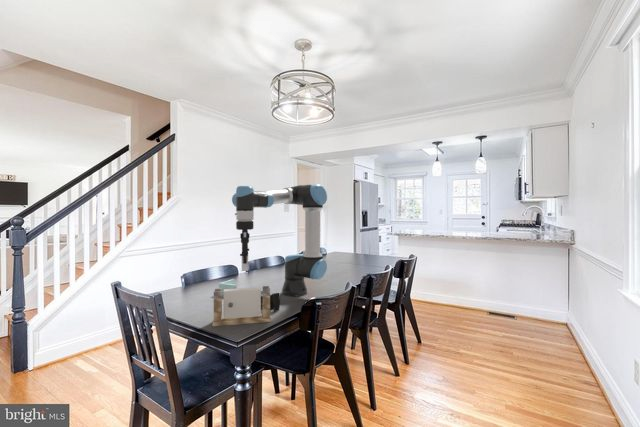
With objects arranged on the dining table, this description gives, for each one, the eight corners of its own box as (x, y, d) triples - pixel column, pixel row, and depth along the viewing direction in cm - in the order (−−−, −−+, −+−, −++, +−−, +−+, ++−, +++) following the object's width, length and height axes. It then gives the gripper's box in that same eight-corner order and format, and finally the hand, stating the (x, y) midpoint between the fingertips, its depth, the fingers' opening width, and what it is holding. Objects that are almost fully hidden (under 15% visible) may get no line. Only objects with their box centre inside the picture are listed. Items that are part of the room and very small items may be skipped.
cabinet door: (266, 312, 142) (267, 287, 142) (267, 316, 138) (267, 289, 138) (217, 316, 137) (217, 289, 137) (216, 320, 133) (216, 292, 133)
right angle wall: (235, 298, 176) (235, 285, 176) (219, 295, 181) (219, 283, 181) (248, 293, 187) (248, 281, 187) (233, 291, 192) (233, 279, 192)
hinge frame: (270, 317, 144) (270, 285, 144) (271, 321, 138) (271, 289, 138) (213, 321, 138) (213, 288, 138) (212, 326, 132) (212, 292, 132)
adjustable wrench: (254, 308, 171) (281, 310, 153) (250, 309, 169) (276, 311, 151) (253, 293, 172) (279, 292, 154) (248, 294, 170) (274, 293, 153)
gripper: (237, 219, 149) (237, 263, 149) (235, 221, 125) (235, 274, 125) (252, 219, 151) (253, 262, 151) (254, 221, 127) (254, 273, 127)
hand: (245, 267), depth 138 cm, fingers open, 13 cm apart
